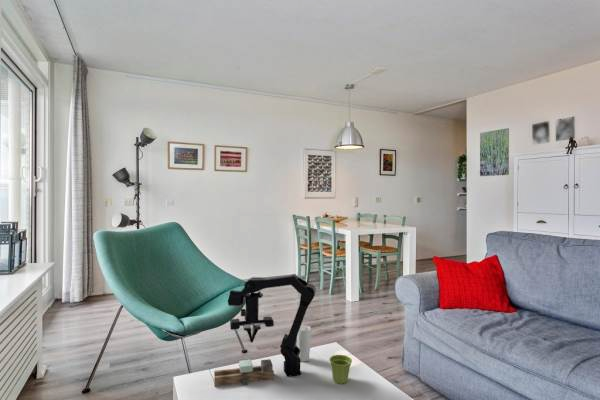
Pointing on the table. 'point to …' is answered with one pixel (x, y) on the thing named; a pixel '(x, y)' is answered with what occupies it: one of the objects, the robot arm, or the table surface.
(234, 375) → the beam
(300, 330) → the drinking glass
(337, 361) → the plant pot
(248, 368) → the block
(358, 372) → the table surface
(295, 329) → the robot arm
